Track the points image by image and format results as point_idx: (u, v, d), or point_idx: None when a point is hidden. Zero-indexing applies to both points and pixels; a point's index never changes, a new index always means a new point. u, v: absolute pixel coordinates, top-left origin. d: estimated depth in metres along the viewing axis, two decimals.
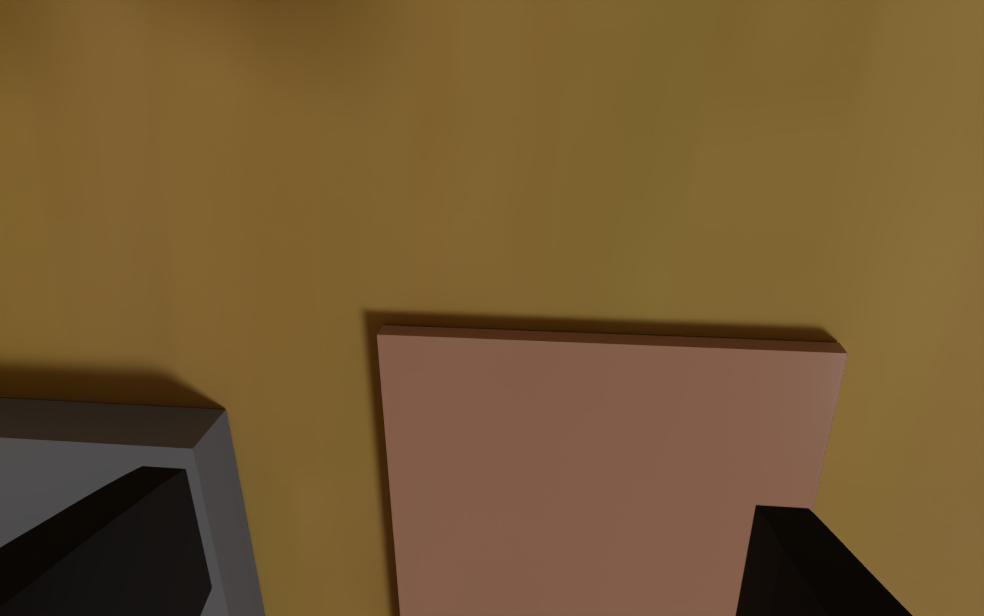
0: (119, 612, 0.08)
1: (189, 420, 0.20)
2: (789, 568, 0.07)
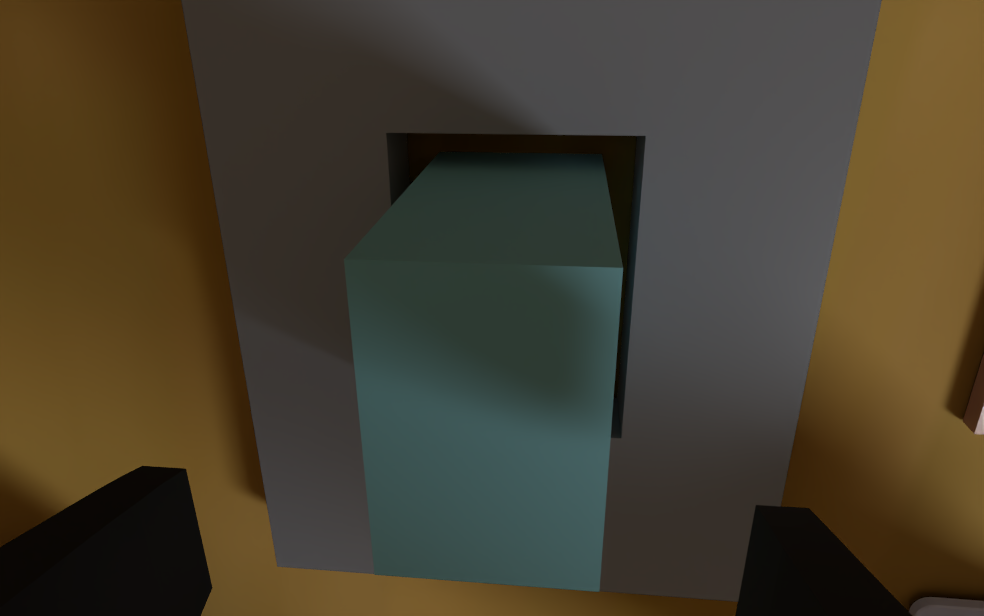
0: (119, 612, 0.08)
1: None
2: (789, 568, 0.07)
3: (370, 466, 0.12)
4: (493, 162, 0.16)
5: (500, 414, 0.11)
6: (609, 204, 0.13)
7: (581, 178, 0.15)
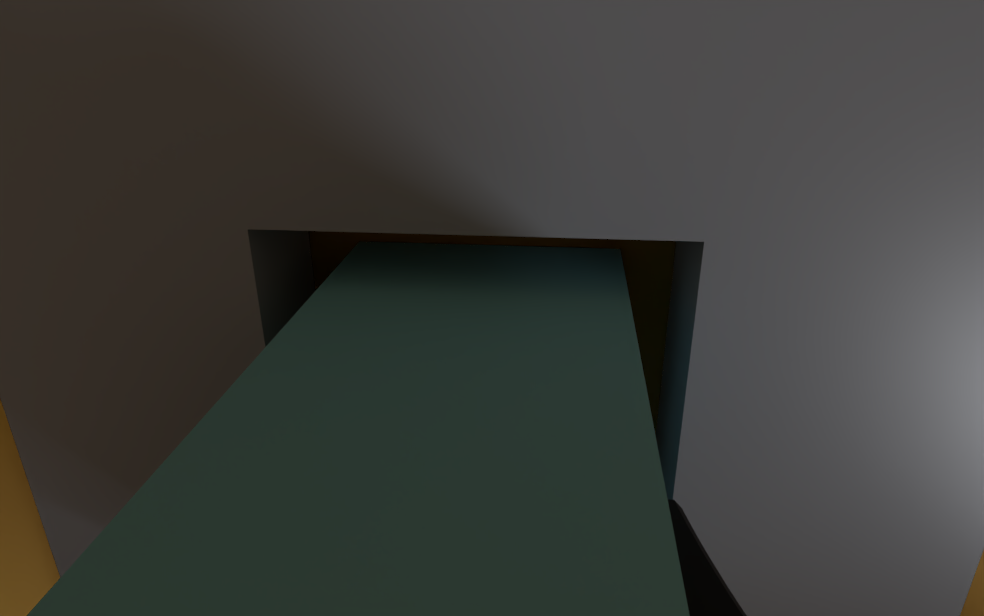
0: None
1: None
2: None
3: None
4: (439, 271, 0.10)
5: None
6: (648, 418, 0.06)
7: (588, 320, 0.08)
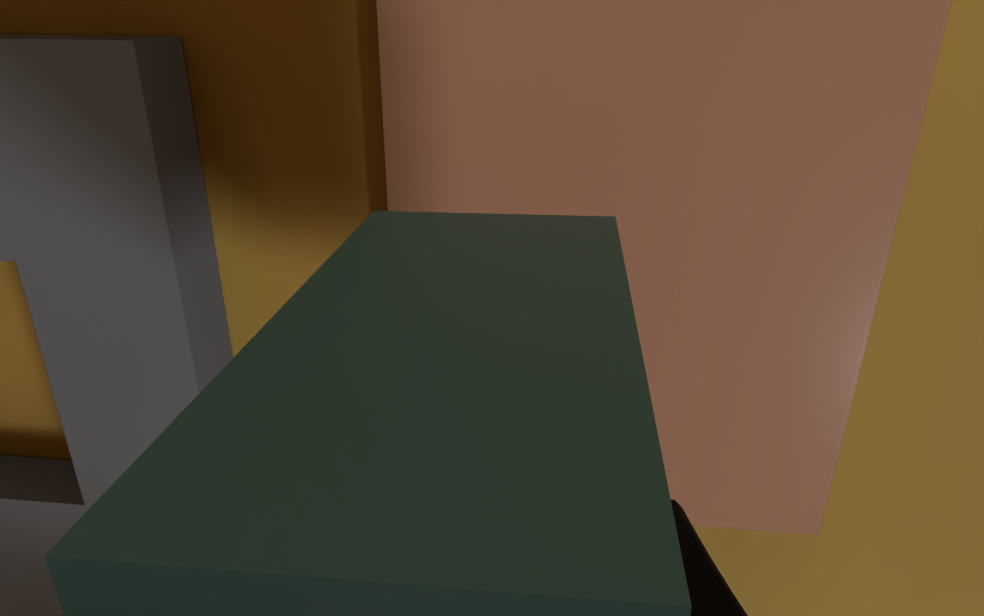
0: None
1: (133, 36, 0.16)
2: None
3: None
4: (449, 234, 0.10)
5: None
6: (637, 345, 0.07)
7: (585, 273, 0.09)
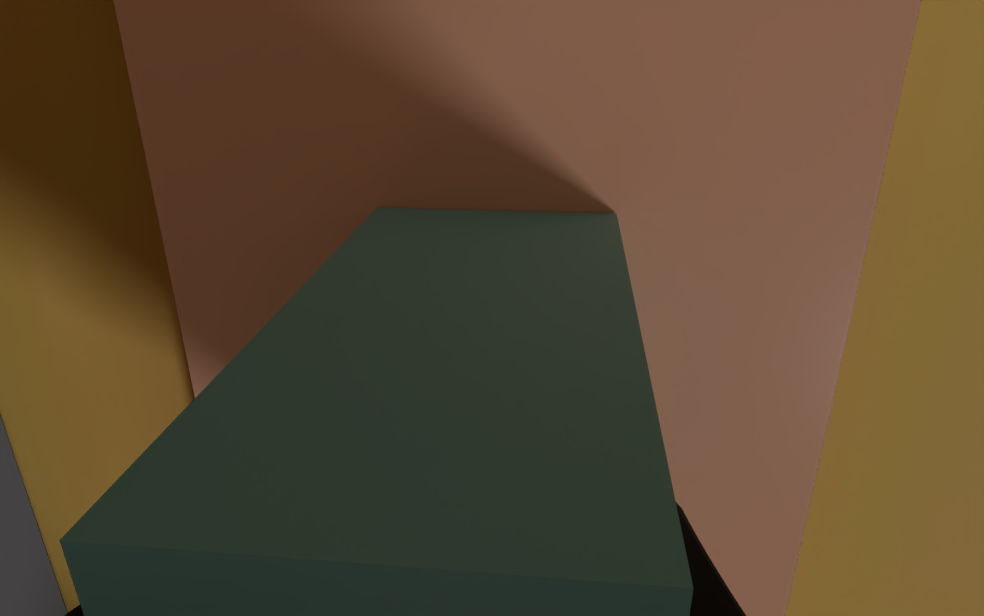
0: None
1: None
2: None
3: None
4: (451, 230, 0.11)
5: None
6: (639, 338, 0.07)
7: (587, 268, 0.09)
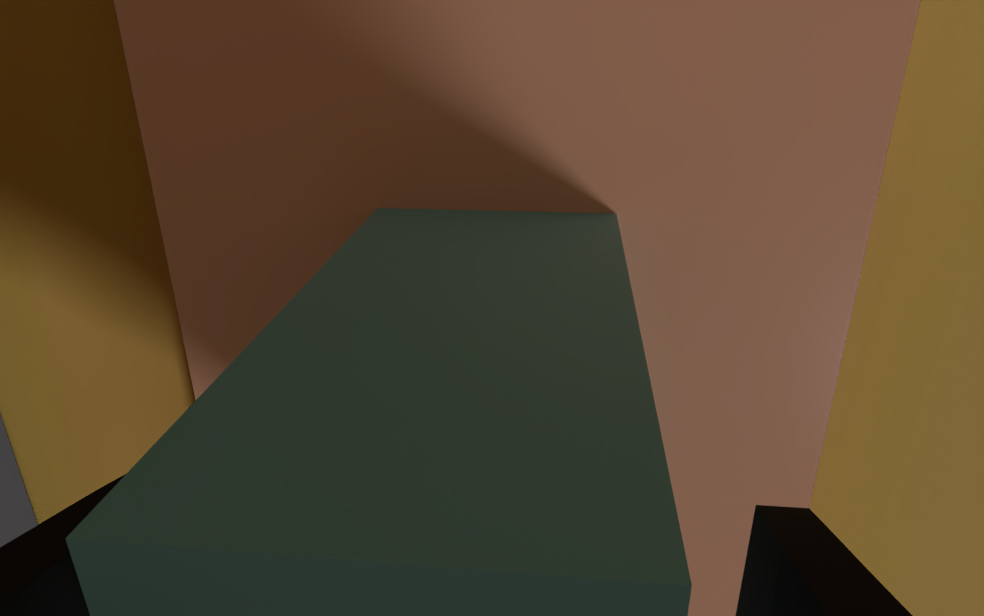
0: None
1: None
2: (790, 568, 0.07)
3: None
4: (452, 231, 0.11)
5: None
6: (638, 338, 0.07)
7: (587, 268, 0.09)
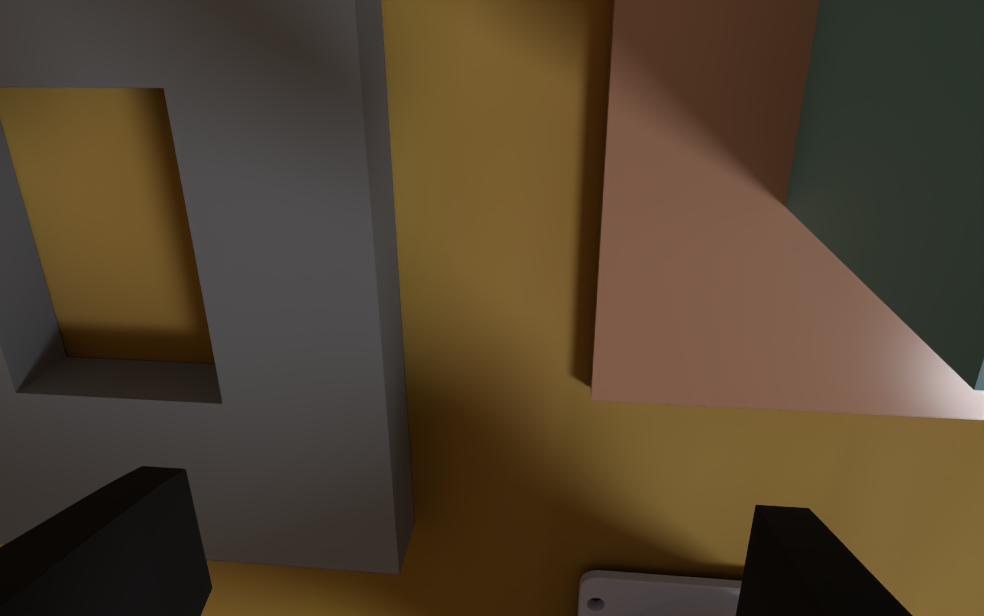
0: (119, 612, 0.08)
1: None
2: (789, 568, 0.07)
3: None
4: None
5: None
6: None
7: None
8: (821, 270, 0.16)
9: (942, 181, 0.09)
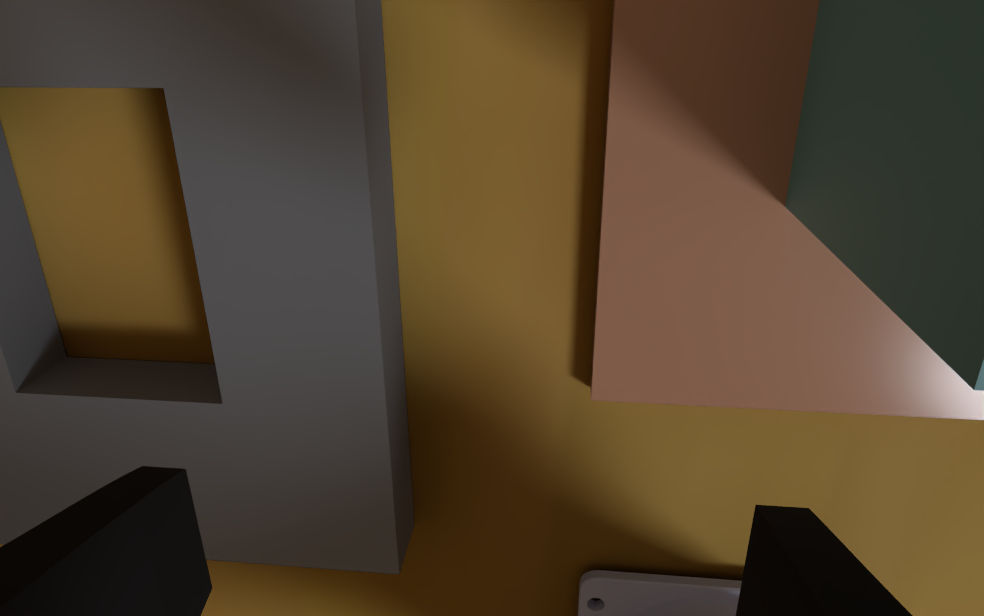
0: (119, 612, 0.08)
1: None
2: (789, 568, 0.07)
3: None
4: None
5: None
6: None
7: None
8: (821, 270, 0.16)
9: (942, 181, 0.09)
